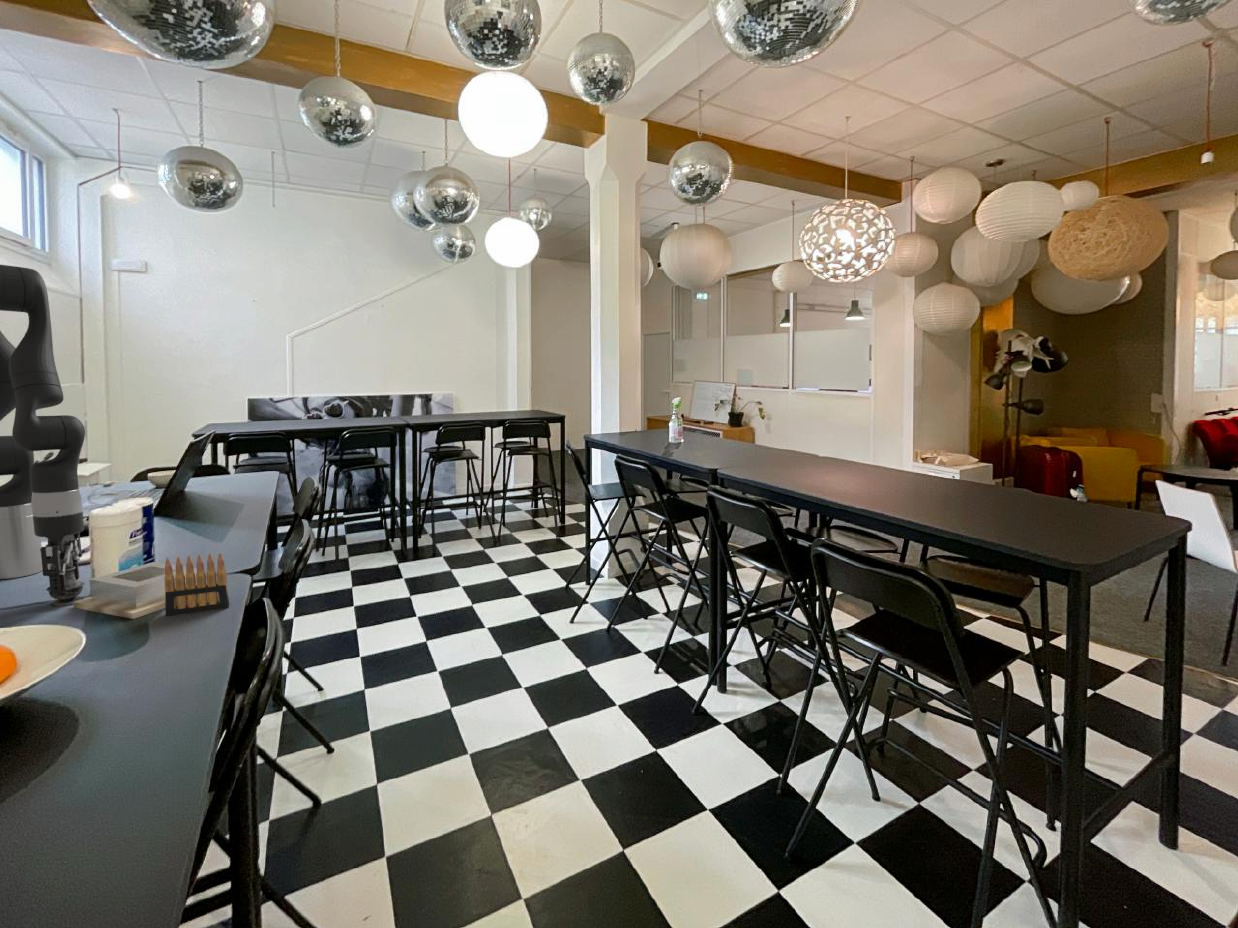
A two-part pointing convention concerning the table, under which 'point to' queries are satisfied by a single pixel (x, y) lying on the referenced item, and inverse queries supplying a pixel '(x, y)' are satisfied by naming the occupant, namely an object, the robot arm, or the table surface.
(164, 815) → the table surface
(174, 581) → the ammunition clip
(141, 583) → the square socket
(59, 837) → the table surface
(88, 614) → the table surface
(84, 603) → the base board
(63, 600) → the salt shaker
